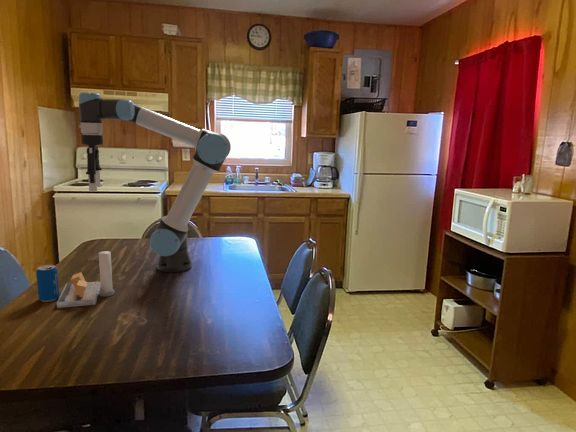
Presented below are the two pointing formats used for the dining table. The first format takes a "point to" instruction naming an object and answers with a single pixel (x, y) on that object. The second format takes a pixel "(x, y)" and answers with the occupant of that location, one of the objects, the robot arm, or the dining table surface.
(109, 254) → the white rounded smooth part
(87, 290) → the breaker plate
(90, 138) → the robot arm
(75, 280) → the paddle
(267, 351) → the dining table surface
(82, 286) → the paddle
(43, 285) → the beverage can
